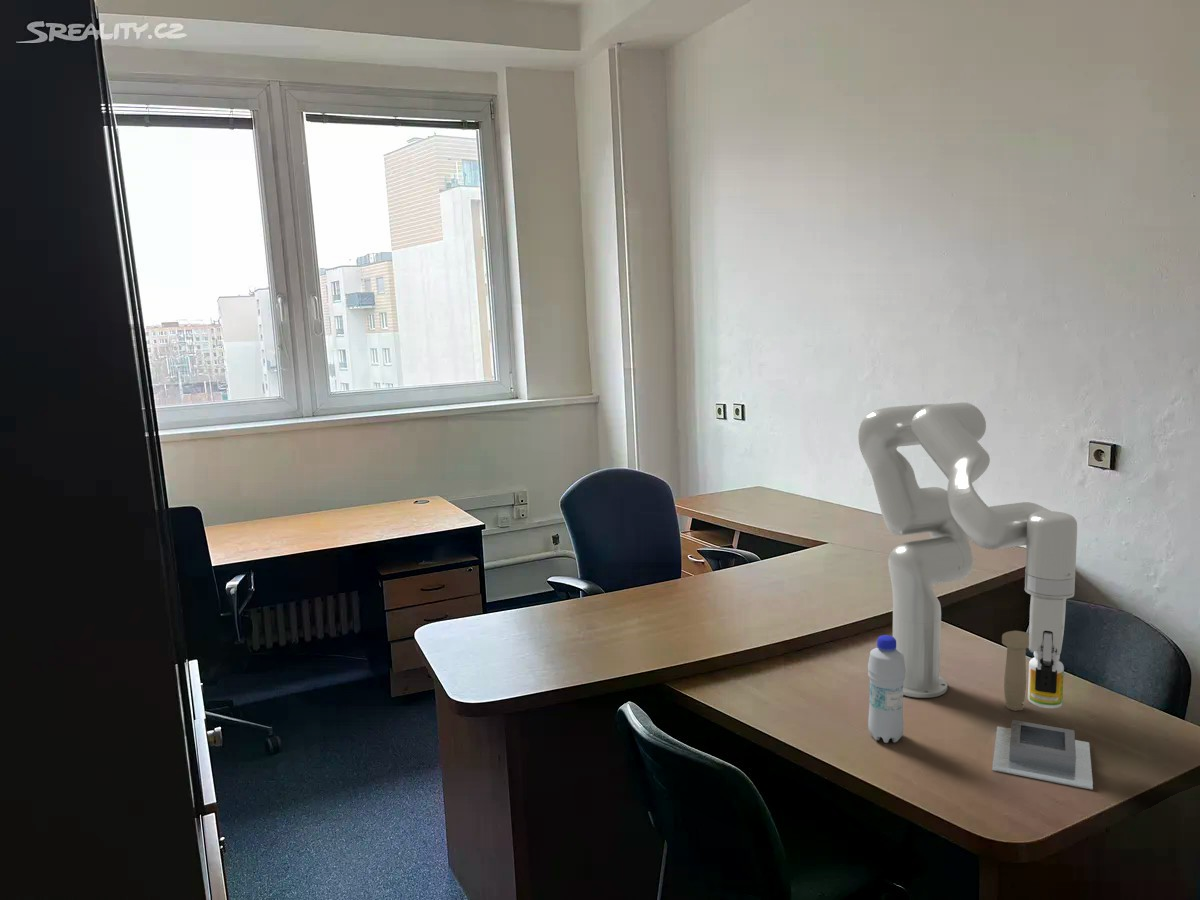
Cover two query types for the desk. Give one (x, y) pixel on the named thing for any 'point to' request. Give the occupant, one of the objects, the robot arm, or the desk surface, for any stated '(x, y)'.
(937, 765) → the desk surface
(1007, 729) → the socket
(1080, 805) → the desk surface
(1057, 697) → the supplement bottle
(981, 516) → the robot arm
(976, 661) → the desk surface
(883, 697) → the bottle
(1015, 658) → the handle
